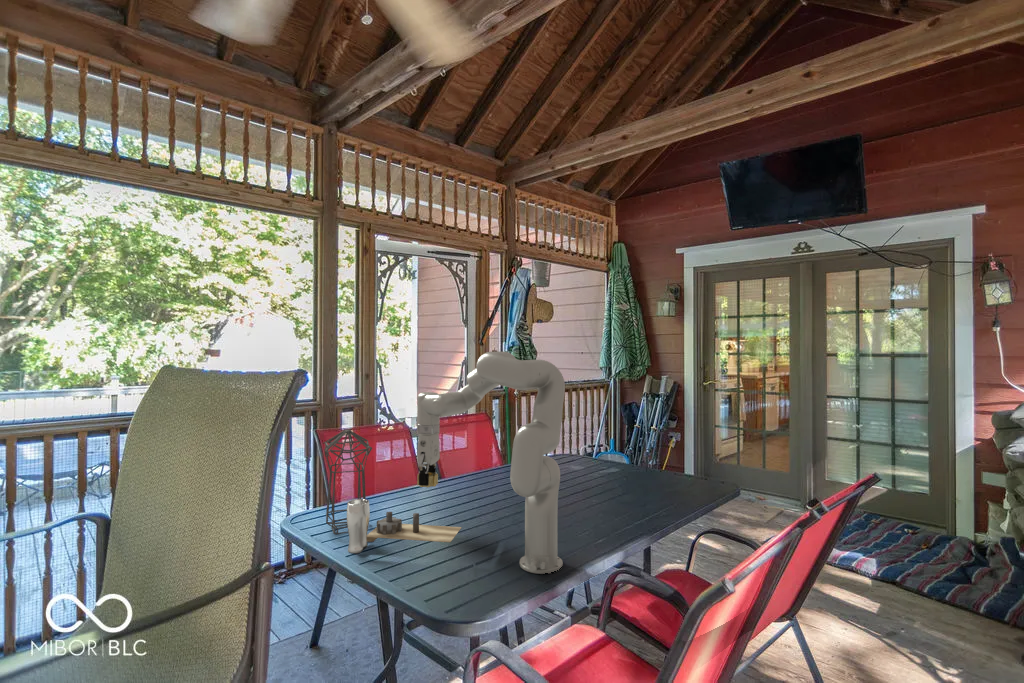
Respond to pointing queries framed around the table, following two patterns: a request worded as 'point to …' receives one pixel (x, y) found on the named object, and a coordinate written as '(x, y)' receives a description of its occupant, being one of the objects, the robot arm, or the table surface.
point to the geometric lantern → (337, 438)
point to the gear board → (411, 530)
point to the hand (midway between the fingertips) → (427, 482)
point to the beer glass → (358, 524)
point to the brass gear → (430, 479)
